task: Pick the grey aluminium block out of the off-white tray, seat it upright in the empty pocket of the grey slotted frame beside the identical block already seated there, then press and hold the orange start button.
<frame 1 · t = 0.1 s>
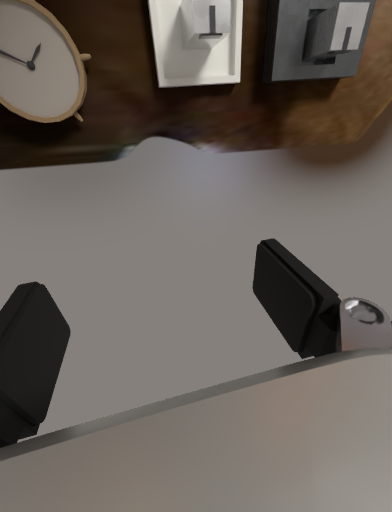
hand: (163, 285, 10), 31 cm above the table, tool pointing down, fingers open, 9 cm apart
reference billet: (310, 43, 32), resting on grey slotted frame
alarm clock: (22, 62, 27), on the table
billet: (196, 28, 28), resting on tray
tray: (195, 29, 28), on the table
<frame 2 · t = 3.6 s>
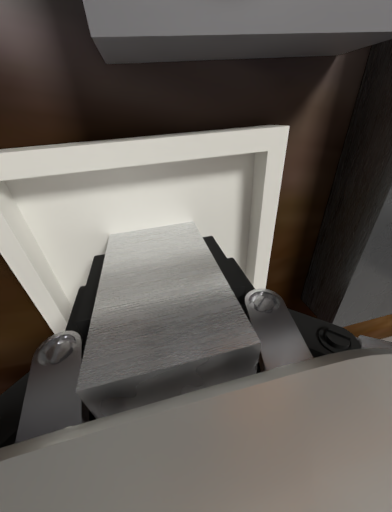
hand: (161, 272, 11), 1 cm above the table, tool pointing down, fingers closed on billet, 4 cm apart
billet: (159, 262, 11), resting on tray, touching gripper
tray: (158, 257, 12), on the table
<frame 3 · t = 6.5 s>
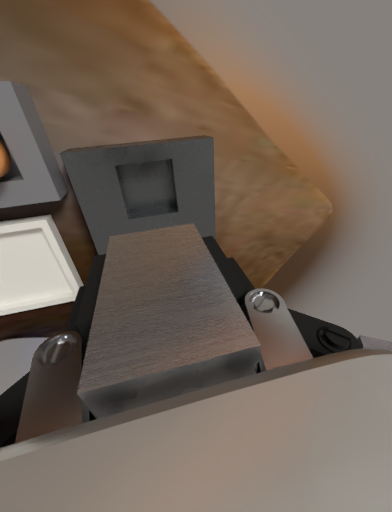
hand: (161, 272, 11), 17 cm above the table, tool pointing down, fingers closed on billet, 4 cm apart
billet: (159, 263, 12), point 16 cm above the table, touching gripper
tray: (20, 266, 26), on the table
grey slotted frame: (155, 221, 27), on the table
when the fingers open (3 cm above the table, at t = 9.5 s): billet stays where it is, resting on grey slotted frame.
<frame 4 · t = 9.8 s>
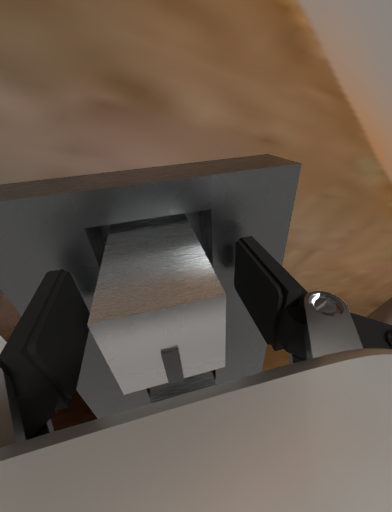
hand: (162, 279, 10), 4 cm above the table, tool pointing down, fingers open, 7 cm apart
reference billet: (175, 341, 18), resting on grey slotted frame
billet: (154, 247, 13), resting on grey slotted frame
grey slotted frame: (166, 296, 16), on the table
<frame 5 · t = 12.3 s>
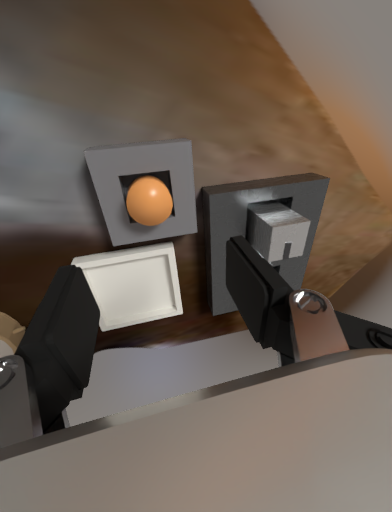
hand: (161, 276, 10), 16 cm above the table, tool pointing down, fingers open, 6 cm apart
button cap: (149, 200, 20), point 4 cm above the table, slide at 0.0 cm
button housing: (147, 189, 23), on the table
billet: (256, 216, 28), resting on grey slotted frame
tray: (135, 285, 29), on the table
grey slotted frame: (253, 245, 30), on the table
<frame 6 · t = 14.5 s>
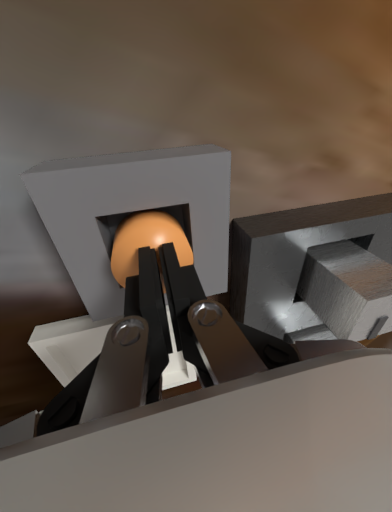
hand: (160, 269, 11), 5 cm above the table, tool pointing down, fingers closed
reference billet: (289, 324, 24), resting on grey slotted frame
button cap: (152, 252, 12), point 3 cm above the table, slide at 0.5 cm, touching gripper
button housing: (148, 226, 14), on the table
billet: (307, 255, 19), resting on grey slotted frame
tray: (130, 350, 21), on the table
grey slotted frame: (295, 290, 22), on the table
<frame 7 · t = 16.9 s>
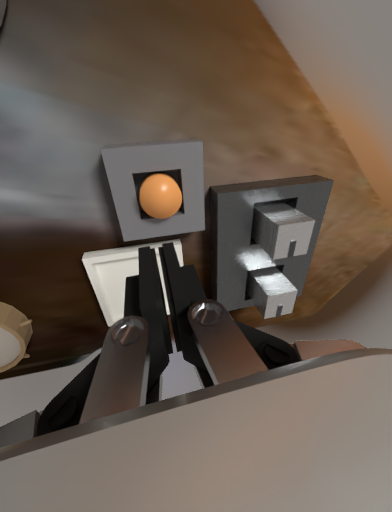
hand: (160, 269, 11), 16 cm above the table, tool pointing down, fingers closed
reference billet: (255, 273, 33), resting on grey slotted frame
button cap: (160, 195, 22), point 3 cm above the table, slide at 0.8 cm
button housing: (158, 187, 24), on the table
billet: (261, 216, 28), resting on grey slotted frame
tray: (141, 281, 30), on the table
grey slotted frame: (257, 244, 31), on the table
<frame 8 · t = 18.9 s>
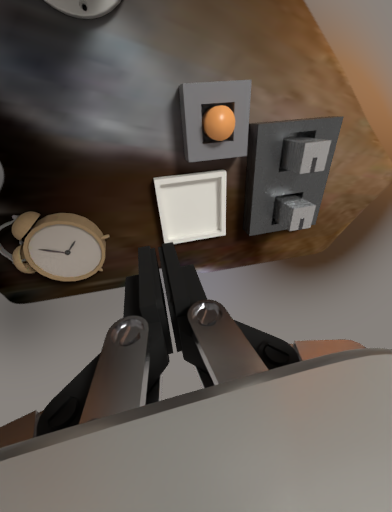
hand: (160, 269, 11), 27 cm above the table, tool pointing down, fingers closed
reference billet: (279, 204, 42), resting on grey slotted frame
button cap: (218, 123, 30), point 3 cm above the table, slide at 0.8 cm
alarm clock: (59, 240, 36), on the table
button housing: (211, 123, 32), on the table
billet: (286, 151, 36), resting on grey slotted frame
tray: (191, 207, 38), on the table
grey slotted frame: (281, 178, 39), on the table
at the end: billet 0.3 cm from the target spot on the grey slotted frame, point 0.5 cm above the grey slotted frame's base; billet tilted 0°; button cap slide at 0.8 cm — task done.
